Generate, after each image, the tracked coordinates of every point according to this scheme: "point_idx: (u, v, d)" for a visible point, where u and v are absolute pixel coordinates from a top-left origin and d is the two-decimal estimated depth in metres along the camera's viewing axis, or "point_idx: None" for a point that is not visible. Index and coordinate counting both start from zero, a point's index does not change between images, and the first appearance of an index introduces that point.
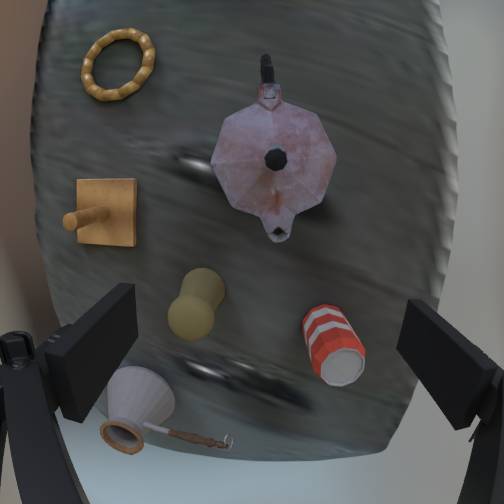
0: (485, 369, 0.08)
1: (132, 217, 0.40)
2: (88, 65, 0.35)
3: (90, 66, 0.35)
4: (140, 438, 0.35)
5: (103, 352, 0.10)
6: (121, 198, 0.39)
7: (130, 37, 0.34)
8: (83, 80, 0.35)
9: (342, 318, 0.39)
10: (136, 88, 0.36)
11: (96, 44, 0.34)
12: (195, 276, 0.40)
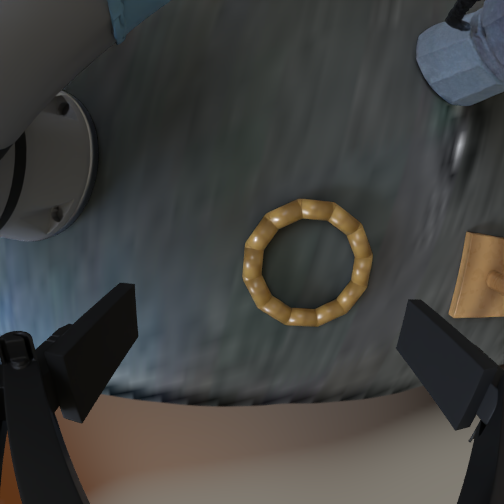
0: (485, 369, 0.08)
1: (503, 239, 0.26)
2: (302, 315, 0.28)
3: (304, 311, 0.28)
4: None
5: (103, 352, 0.10)
6: (486, 253, 0.27)
7: (267, 243, 0.26)
8: (327, 320, 0.28)
9: None
10: None
11: (267, 304, 0.27)
12: None
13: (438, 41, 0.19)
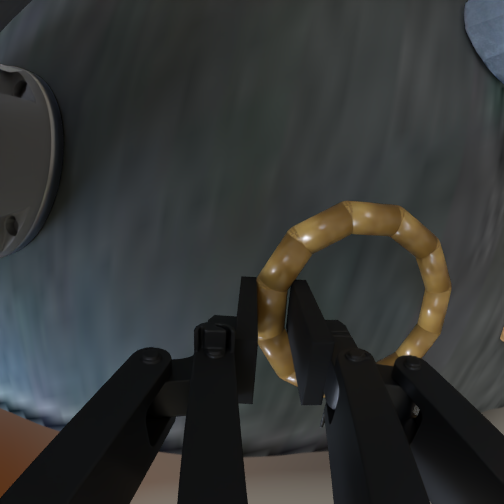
0: (315, 342, 0.10)
1: None
2: None
3: None
4: None
5: None
6: None
7: (293, 280, 0.15)
8: None
9: None
10: (440, 245, 0.15)
11: (294, 374, 0.16)
12: None
13: (493, 8, 0.12)
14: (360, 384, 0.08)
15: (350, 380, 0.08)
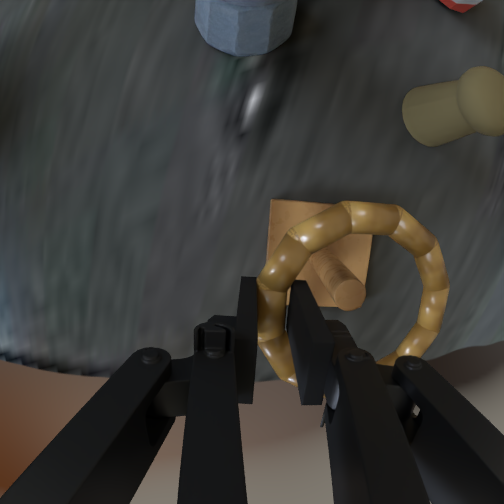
0: (315, 342, 0.10)
1: None
2: None
3: None
4: None
5: None
6: None
7: (293, 280, 0.15)
8: None
9: None
10: (438, 243, 0.15)
11: (295, 375, 0.16)
12: (418, 113, 0.23)
13: None
14: (360, 384, 0.08)
15: (350, 380, 0.08)
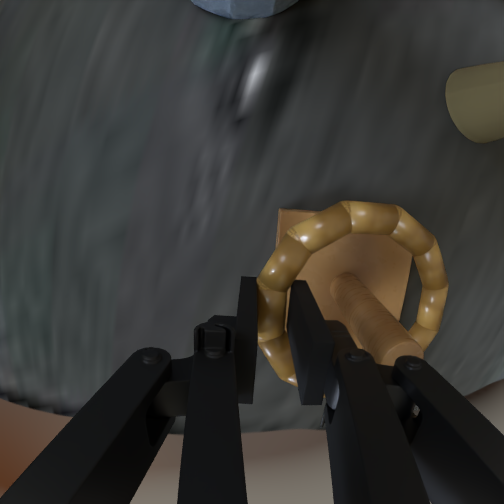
0: (315, 342, 0.10)
1: None
2: None
3: None
4: None
5: None
6: None
7: (293, 280, 0.15)
8: None
9: None
10: (437, 243, 0.15)
11: (295, 375, 0.16)
12: (470, 98, 0.15)
13: None
14: (360, 384, 0.08)
15: (350, 380, 0.08)
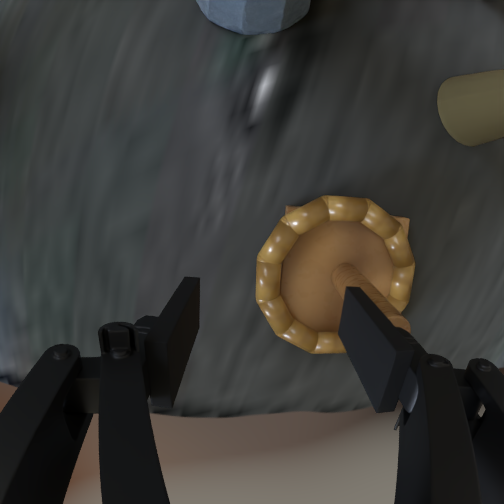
0: (398, 351, 0.09)
1: None
2: (332, 341, 0.22)
3: (333, 336, 0.22)
4: None
5: (184, 340, 0.12)
6: (323, 236, 0.21)
7: (285, 255, 0.20)
8: None
9: None
10: (403, 229, 0.20)
11: (288, 331, 0.21)
12: (458, 106, 0.17)
13: None
14: (437, 388, 0.07)
15: (429, 383, 0.08)
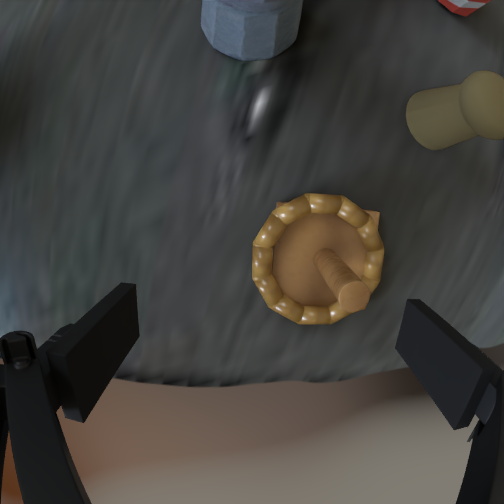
0: (483, 368, 0.08)
1: None
2: (315, 313, 0.27)
3: (316, 309, 0.27)
4: None
5: (104, 351, 0.11)
6: (307, 226, 0.27)
7: (275, 241, 0.26)
8: (341, 317, 0.27)
9: None
10: None
11: (278, 304, 0.26)
12: (422, 117, 0.23)
13: None
14: None
15: None
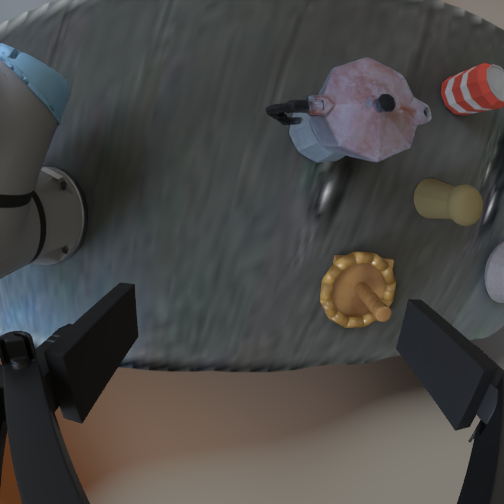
0: (485, 369, 0.08)
1: None
2: (355, 321, 0.44)
3: (356, 318, 0.44)
4: None
5: (103, 352, 0.10)
6: (352, 270, 0.43)
7: (335, 280, 0.42)
8: (370, 322, 0.44)
9: (455, 78, 0.33)
10: (390, 266, 0.42)
11: (335, 316, 0.43)
12: (424, 202, 0.40)
13: None
14: None
15: None
